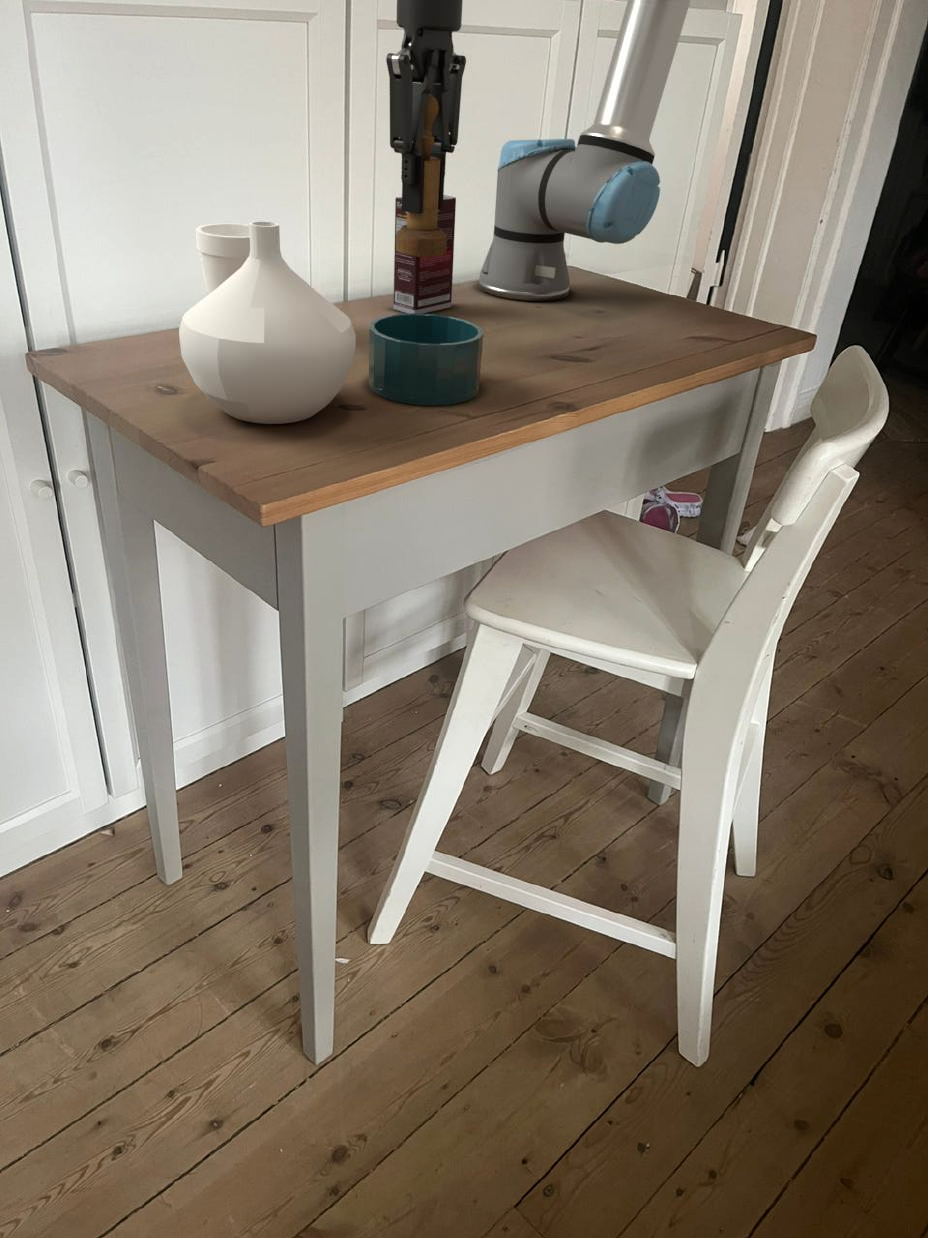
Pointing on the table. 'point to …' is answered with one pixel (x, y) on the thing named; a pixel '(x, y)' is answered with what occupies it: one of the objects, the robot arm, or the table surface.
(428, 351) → the crock
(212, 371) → the vase
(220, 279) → the foam cup
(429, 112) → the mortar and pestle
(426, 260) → the supplement box
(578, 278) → the table surface
